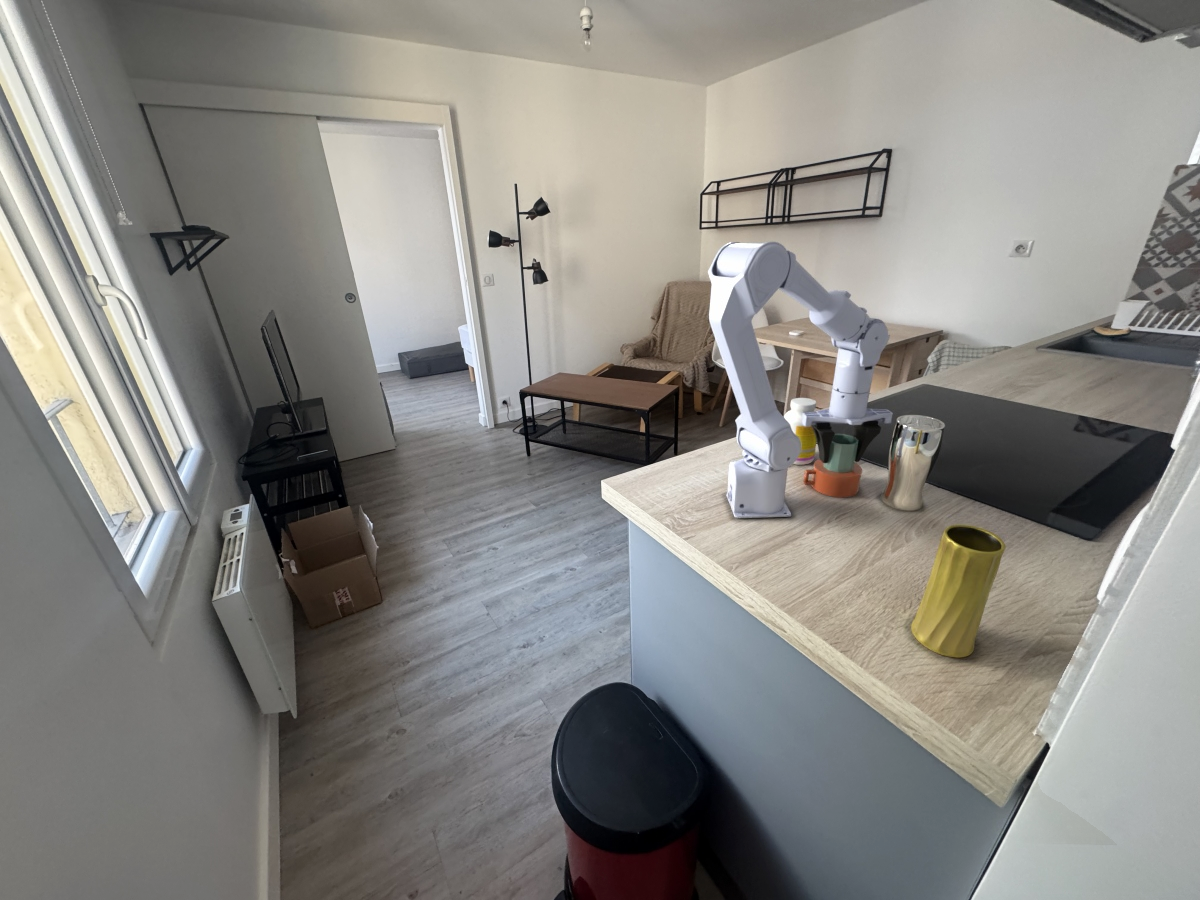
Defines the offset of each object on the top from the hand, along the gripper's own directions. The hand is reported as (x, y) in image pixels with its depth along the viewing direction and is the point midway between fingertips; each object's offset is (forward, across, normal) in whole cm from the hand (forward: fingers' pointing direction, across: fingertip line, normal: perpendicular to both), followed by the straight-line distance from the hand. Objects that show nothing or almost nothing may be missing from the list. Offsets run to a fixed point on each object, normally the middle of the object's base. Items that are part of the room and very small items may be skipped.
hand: (839, 460), depth 85 cm
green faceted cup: (+1, 0, 0) cm, 1 cm away
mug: (+6, 0, 0) cm, 6 cm away
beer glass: (+6, +9, -6) cm, 12 cm away
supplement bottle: (+6, -3, +12) cm, 14 cm away
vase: (+6, -2, -36) cm, 37 cm away
